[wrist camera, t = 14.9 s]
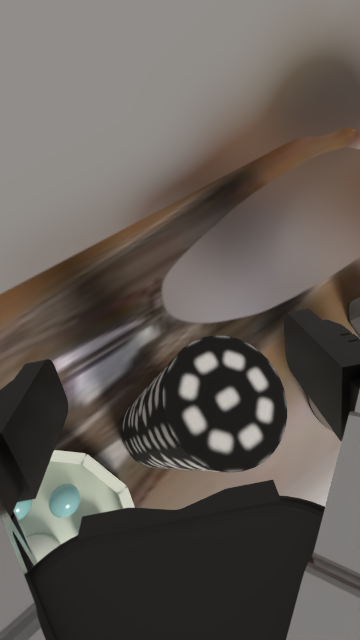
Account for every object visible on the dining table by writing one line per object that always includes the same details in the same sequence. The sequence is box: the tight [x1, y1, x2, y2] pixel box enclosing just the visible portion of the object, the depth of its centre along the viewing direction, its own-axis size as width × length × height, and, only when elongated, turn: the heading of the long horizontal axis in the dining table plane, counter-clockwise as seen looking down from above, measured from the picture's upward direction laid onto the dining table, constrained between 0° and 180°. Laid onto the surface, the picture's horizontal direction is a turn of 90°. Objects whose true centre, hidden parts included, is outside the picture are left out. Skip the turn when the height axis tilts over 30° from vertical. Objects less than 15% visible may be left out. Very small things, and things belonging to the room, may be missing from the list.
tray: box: [14, 450, 135, 562], centre depth 28 cm, size 19×19×4 cm
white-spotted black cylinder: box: [122, 336, 287, 472], centre depth 29 cm, size 8×8×20 cm
